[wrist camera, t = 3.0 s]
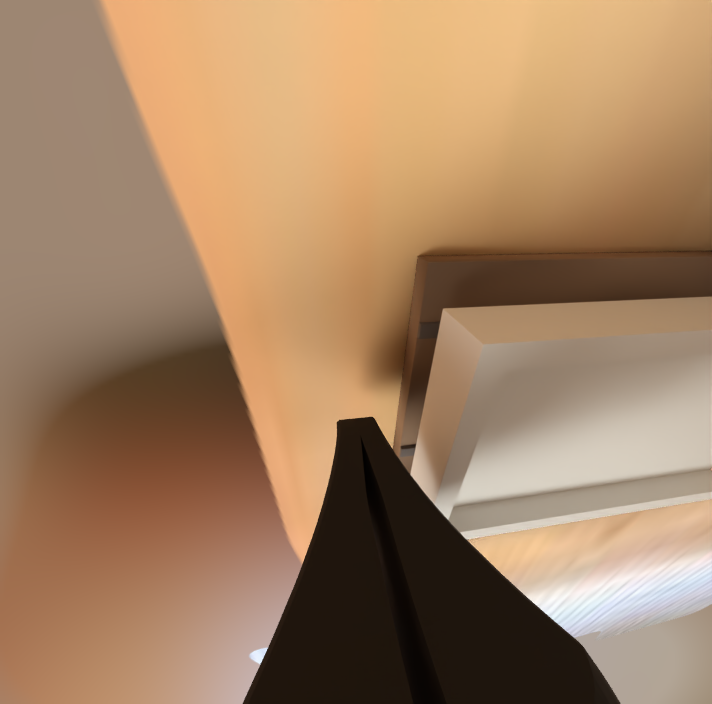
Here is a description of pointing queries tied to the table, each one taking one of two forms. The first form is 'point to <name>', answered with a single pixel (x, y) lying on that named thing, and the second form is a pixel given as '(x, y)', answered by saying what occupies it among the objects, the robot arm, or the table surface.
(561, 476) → the shallow rimmed tray
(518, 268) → the track board
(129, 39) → the table surface
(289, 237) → the table surface
